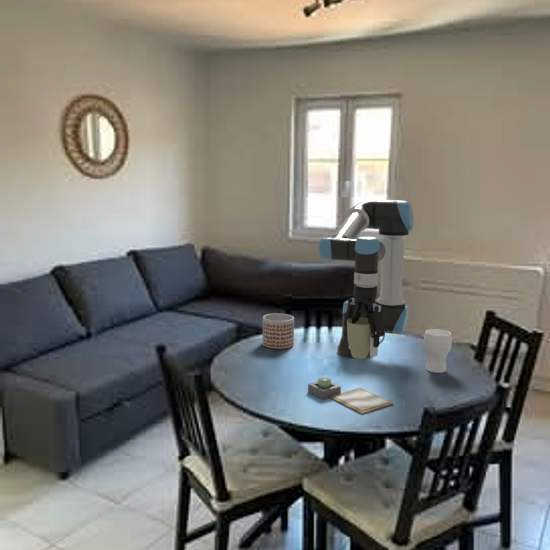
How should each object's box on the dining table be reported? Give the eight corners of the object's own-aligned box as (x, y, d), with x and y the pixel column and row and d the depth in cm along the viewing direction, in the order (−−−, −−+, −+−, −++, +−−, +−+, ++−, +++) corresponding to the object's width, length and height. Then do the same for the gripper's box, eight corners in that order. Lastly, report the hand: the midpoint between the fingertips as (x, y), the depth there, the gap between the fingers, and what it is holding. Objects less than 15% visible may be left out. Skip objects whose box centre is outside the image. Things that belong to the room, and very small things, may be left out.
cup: (451, 375, 215) (454, 337, 213) (422, 373, 217) (424, 335, 215) (448, 366, 226) (451, 329, 223) (421, 364, 228) (423, 327, 225)
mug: (357, 363, 181) (359, 327, 178) (340, 354, 189) (341, 319, 187) (385, 358, 186) (387, 323, 183) (367, 349, 194) (368, 315, 192)
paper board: (329, 397, 193) (329, 395, 193) (359, 389, 201) (360, 387, 200) (361, 414, 180) (361, 412, 180) (393, 404, 188) (393, 402, 188)
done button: (315, 386, 197) (315, 378, 196) (325, 384, 199) (325, 376, 199) (323, 390, 193) (323, 382, 193) (333, 388, 196) (333, 380, 195)
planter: (293, 350, 244) (294, 321, 241) (262, 349, 244) (262, 320, 241) (293, 340, 257) (293, 313, 255) (263, 340, 257) (263, 313, 255)
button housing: (307, 392, 198) (308, 383, 197) (325, 387, 202) (326, 379, 202) (322, 399, 191) (322, 391, 191) (340, 394, 196) (340, 386, 195)
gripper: (334, 280, 190) (332, 345, 194) (381, 292, 172) (378, 363, 176) (351, 278, 194) (348, 341, 198) (399, 289, 176) (395, 359, 180)
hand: (362, 351), depth 187 cm, fingers closed on mug, 9 cm apart
